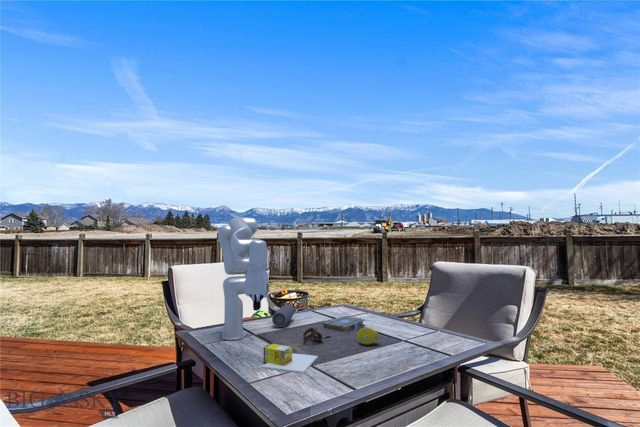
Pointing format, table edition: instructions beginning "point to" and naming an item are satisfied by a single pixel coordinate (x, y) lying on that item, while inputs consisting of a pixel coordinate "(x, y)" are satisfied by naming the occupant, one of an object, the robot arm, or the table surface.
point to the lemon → (367, 336)
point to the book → (343, 324)
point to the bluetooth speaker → (283, 315)
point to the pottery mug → (312, 334)
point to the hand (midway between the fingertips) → (256, 309)
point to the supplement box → (278, 354)
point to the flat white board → (294, 363)
